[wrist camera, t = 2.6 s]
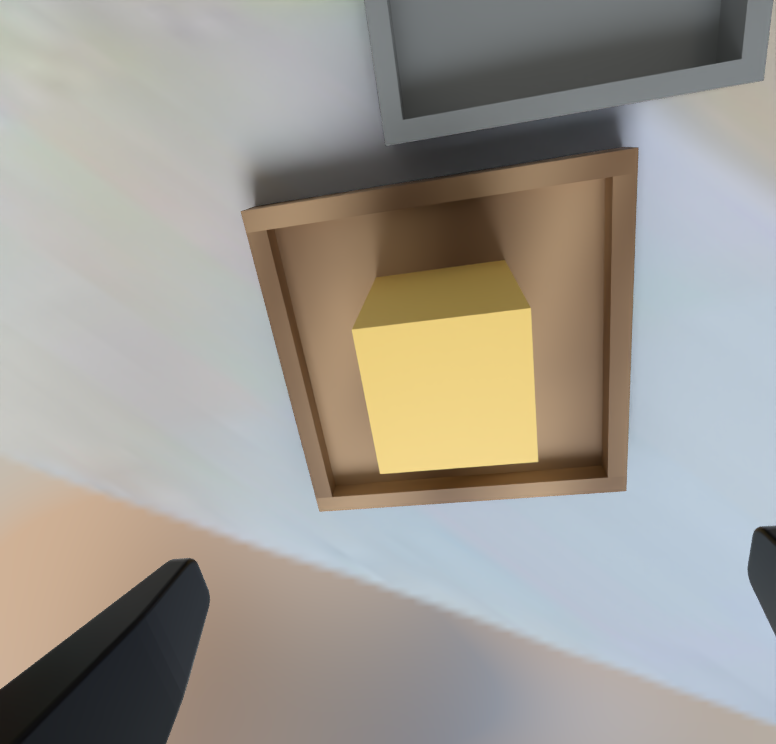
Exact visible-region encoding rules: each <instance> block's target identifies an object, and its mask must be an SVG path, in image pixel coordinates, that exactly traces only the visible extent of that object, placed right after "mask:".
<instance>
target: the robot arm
mask: <svg viewBox="0 0 776 744" xmlns="http://www.w3.org/2000/svg"><path fill="white" fill-rule="evenodd" d="M748 576H749V580H750V583H751V585H752V588H753V590H754V592H755V594H756V596H757V598H758V600H759V602H760V604H761V606H762V609H763V611H764V613H765V615H766V617H767V619H768V621H769V623H770V625H771V627H772V629H773V632H774V634H775V636H776V526H762V527H758V528H757V529H756V530H755V531H754V533H753V537H752V543H751V549H750V556H749V562H748ZM209 603H210V595H209V590H208V588H207V586H206V583H205V580H204V578H203V575H202V573H201V570H200V568H199V566H198V564H197V562H196V561H195V560H194V559H191V558H186V559H185V558H184V559H173V560H170V561H168V562H167V563H165V564H164V565H163V566H161V567H160V568H159V569H157V570H156V571H155V572H153V573H152V574H151V575H149V576H148V577H147V578H146V579H144V580H143V581H142V582H140V583H139V584H138V585H136V586H135V587H134V588H132V589H131V590H130V591H129V592H127V593H126V594H125V595H123V596H122V597H121V598H119V599H118V600H117V601H115V602H114V603H113V604H112V605H110V606H109V607H108V608H106V609H105V610H104V611H102V612H101V613H100V614H98V615H97V616H96V617H94V618H93V619H92V620H91V621H89V622H88V623H87V624H85V625H84V626H83V627H81V628H80V629H79V630H77V631H76V632H75V633H74V634H72V635H71V636H70V637H68V638H67V639H66V640H64V641H63V642H62V643H60V644H59V645H58V646H57V647H55V648H54V649H53V650H51V651H50V652H49V653H48V654H46V655H45V656H44V657H42V658H41V659H40V660H38V661H37V662H35V663H34V664H33V665H32V666H31V667H29V668H28V669H27V670H25V671H24V672H22V673H21V674H20V675H19V676H17V677H16V678H15V679H13V680H12V681H11V682H9V683H8V684H7V685H6V686H4V687H3V688H1V689H0V744H166V742H167V740H168V737H169V735H170V732H171V729H172V726H173V724H174V721H175V719H176V716H177V713H178V711H179V708H180V705H181V702H182V700H183V697H184V693H185V690H186V687H187V684H188V680H189V677H190V673H191V670H192V666H193V662H194V659H195V655H196V652H197V648H198V644H199V641H200V637H201V634H202V630H203V626H204V623H205V619H206V616H207V612H208V608H209Z"/></svg>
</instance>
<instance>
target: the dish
mask: <svg viewBox="0 0 776 744" xmlns="http://www.w3.org/2000/svg"><path fill="white" fill-rule="evenodd" d="M364 3H365V9H366V16H367V23H368V30H369V37H370V44H371V51H372V57H373V64H374V71H375V78H376V85H377V92H378V98H379V105H380V112H381V119H382V126H383V133H384V139H385V146H390V145H396V144H402V143H408V142H414V141H419V140H425V139H431V138H437V137H442V136H448V135H454V134H460V133H466V132H471V131H477V130H483V129H489V128H494V127H500V126H506V125H512V124H518V123H523V122H529V121H535V120H541V119H546V118H552V117H558V116H564V115H570V114H575V113H581V112H587V111H593V110H598V109H604V108H610V107H616V106H621V105H627V104H633V103H639V102H645V101H650V100H656V99H662V98H668V97H673V96H679V95H685V94H691V93H697V92H702V91H708V90H714V89H720V88H725V87H731V86H736V85H742V84H747V83H753V82H758V81H764V73H765V65H766V56H767V48H768V39H769V31H770V23H771V14H772V6H773V0H364Z"/></svg>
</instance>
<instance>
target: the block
mask: <svg viewBox="0 0 776 744" xmlns="http://www.w3.org/2000/svg"><path fill="white" fill-rule="evenodd" d="M352 334H353V339H354V344H355V349H356V354H357V359H358V364H359V369H360V375H361V380H362V385H363V390H364V395H365V400H366V405H367V410H368V415H369V420H370V425H371V431H372V436H373V441H374V446H375V451H376V456H377V461H378V466H379V471H380V474H388V473H401V472H414V471H427V470H440V469H453V468H466V467H479V466H492V465H505V464H518V463H531V462H538V447H537V426H536V405H535V384H534V362H533V341H532V320H531V307H530V305H529V304H528V302H527V300H526V298H525V296H524V294H523V293H522V291H521V289H520V287H519V285H518V283H517V281H516V280H515V278H514V276H513V274H512V272H511V270H510V269H509V267H508V265H507V263H506V261H505V260H501V261H494V262H486V263H479V264H472V265H464V266H457V267H449V268H442V269H435V270H427V271H420V272H412V273H405V274H398V275H390V276H383V277H376V278H375V280H374V283H373V285H372V287H371V289H370V291H369V293H368V296H367V298H366V300H365V302H364V304H363V306H362V309H361V311H360V313H359V315H358V317H357V319H356V321H355V324H354V326H353V328H352Z"/></svg>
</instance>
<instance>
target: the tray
mask: <svg viewBox="0 0 776 744" xmlns="http://www.w3.org/2000/svg"><path fill="white" fill-rule="evenodd" d="M637 173H638V148H635V147H620V148H614V149H607V150H601V151H595V152H589V153H583V154H577V155H570V156H564V157H558V158H552V159H546V160H539V161H533V162H527V163H521V164H515V165H509V166H502V167H496V168H490V169H484V170H478V171H471V172H465V173H459V174H453V175H447V176H441V177H434V178H428V179H422V180H416V181H410V182H403V183H397V184H391V185H385V186H379V187H372V188H366V189H360V190H354V191H348V192H342V193H335V194H329V195H323V196H317V197H311V198H304V199H298V200H292V201H286V202H280V203H274V204H267V205H261V206H255V207H252V208H249V209H247V210H244V211H241V214H242V218H243V222H244V226H245V230H246V233H247V237H248V241H249V245H250V249H251V253H252V256H253V260H254V264H255V268H256V272H257V275H258V279H259V283H260V287H261V291H262V294H263V298H264V302H265V306H266V310H267V313H268V317H269V321H270V325H271V329H272V333H273V336H274V340H275V344H276V348H277V352H278V355H279V359H280V363H281V367H282V371H283V374H284V378H285V382H286V386H287V390H288V393H289V397H290V401H291V405H292V409H293V413H294V416H295V420H296V424H297V428H298V432H299V435H300V439H301V443H302V447H303V451H304V454H305V458H306V462H307V466H308V470H309V473H310V477H311V481H312V485H313V489H314V493H315V496H316V500H317V504H318V508H319V512H322V511H336V510H351V509H366V508H381V507H396V506H411V505H426V504H441V503H455V502H470V501H485V500H500V499H515V498H530V497H545V496H560V495H575V494H589V493H604V492H619V491H626V484H627V456H628V428H629V399H630V371H631V343H632V314H633V286H634V258H635V229H636V201H637ZM501 260H505V261H506V263H507V265H508V267H509V269H510V270H511V272H512V274H513V276H514V278H515V280H516V281H517V283H518V285H519V287H520V289H521V291H522V293H523V294H524V296H525V298H526V300H527V302H528V304H529V305H530V307H531V320H532V341H533V362H534V384H535V405H536V426H537V447H538V462H531V463H518V464H505V465H492V466H479V467H466V468H453V469H440V470H427V471H414V472H401V473H388V474H380V471H379V466H378V461H377V456H376V451H375V446H374V441H373V436H372V431H371V425H370V420H369V415H368V410H367V405H366V400H365V395H364V390H363V385H362V380H361V375H360V369H359V364H358V359H357V354H356V349H355V344H354V339H353V334H352V328H353V326H354V324H355V321H356V319H357V317H358V315H359V313H360V311H361V309H362V306H363V304H364V302H365V300H366V298H367V296H368V293H369V291H370V289H371V287H372V285H373V283H374V280H375V278H376V277H383V276H390V275H398V274H405V273H412V272H420V271H427V270H435V269H442V268H449V267H457V266H464V265H472V264H479V263H486V262H494V261H501Z"/></svg>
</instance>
